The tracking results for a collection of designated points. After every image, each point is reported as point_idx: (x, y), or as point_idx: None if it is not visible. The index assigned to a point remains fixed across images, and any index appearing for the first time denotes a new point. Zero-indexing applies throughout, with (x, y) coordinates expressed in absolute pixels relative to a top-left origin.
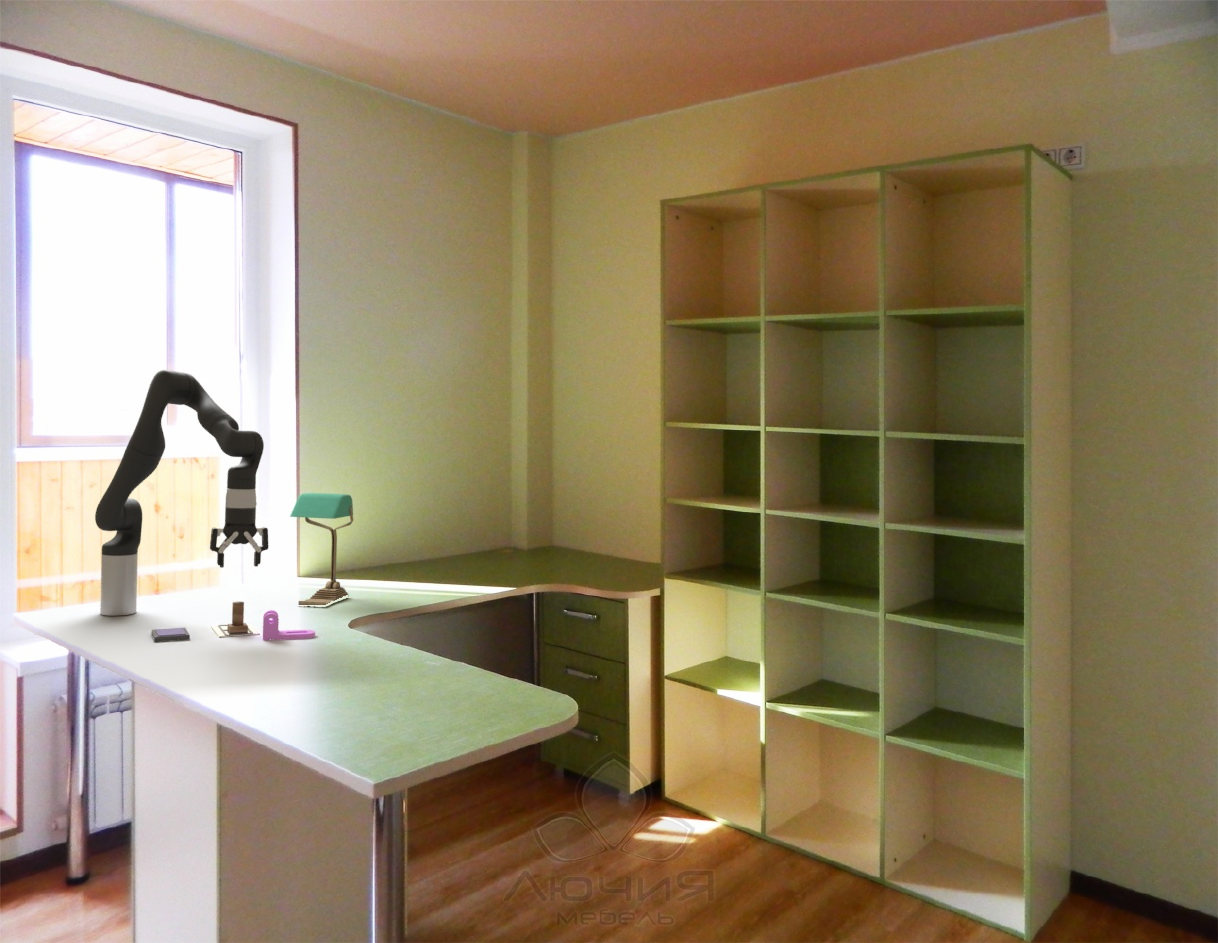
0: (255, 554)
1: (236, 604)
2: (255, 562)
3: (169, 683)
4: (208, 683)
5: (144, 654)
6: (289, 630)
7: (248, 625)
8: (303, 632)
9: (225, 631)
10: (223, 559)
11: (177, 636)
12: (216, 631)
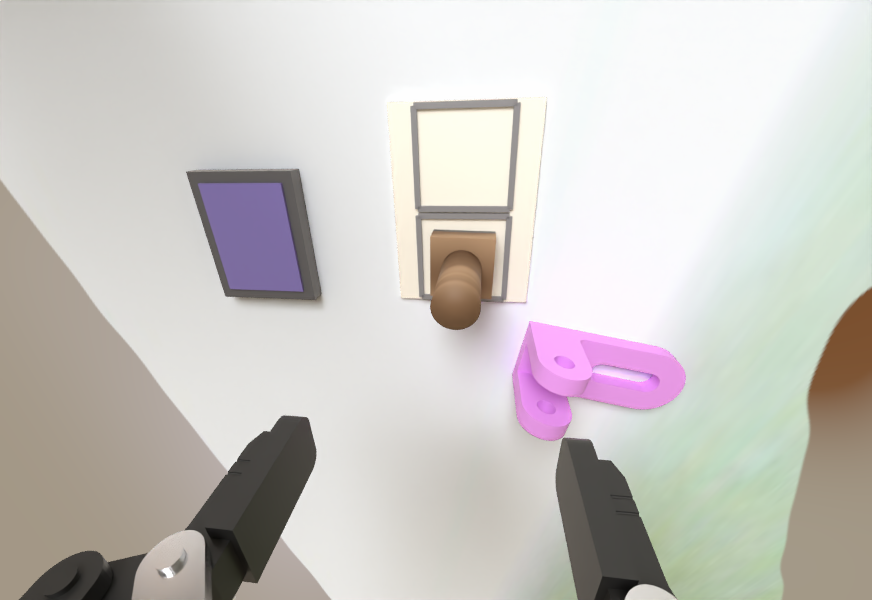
0: (581, 597)
1: (444, 323)
2: (561, 515)
3: (314, 567)
4: (365, 585)
5: (241, 404)
6: (614, 348)
7: (529, 136)
8: (648, 371)
9: (427, 230)
10: (283, 521)
11: (284, 296)
12: (398, 217)
